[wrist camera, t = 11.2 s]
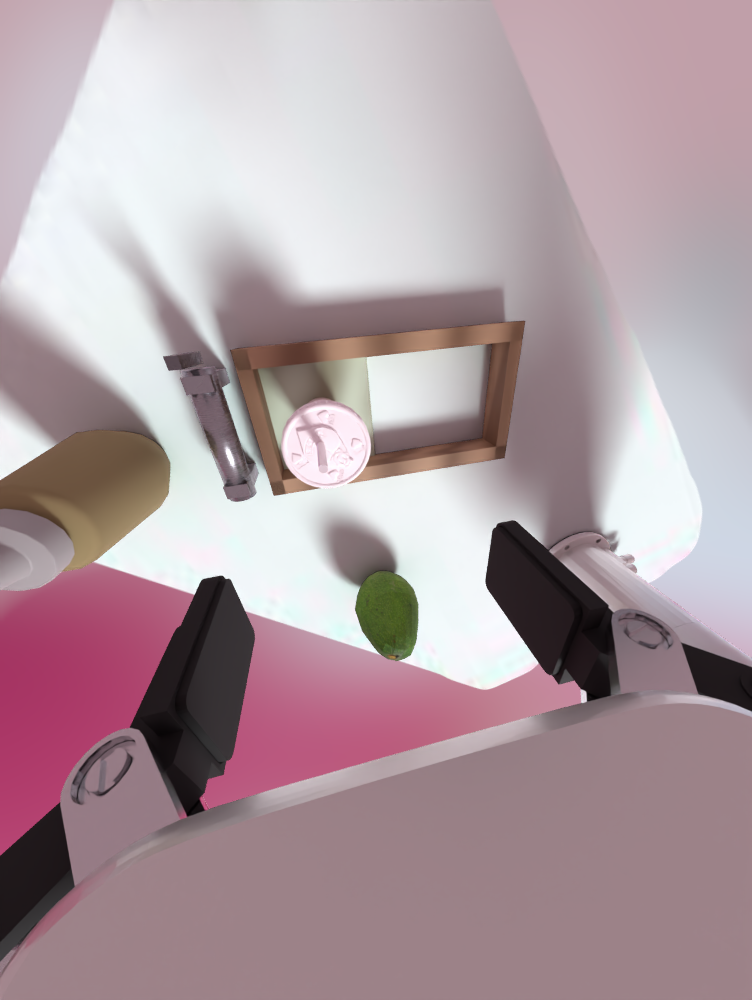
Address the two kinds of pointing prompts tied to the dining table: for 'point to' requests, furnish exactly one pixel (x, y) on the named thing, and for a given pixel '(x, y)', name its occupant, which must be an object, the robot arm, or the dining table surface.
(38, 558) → the squeeze bottle
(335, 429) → the smoothie
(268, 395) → the bay
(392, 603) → the avocado
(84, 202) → the dining table surface
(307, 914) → the robot arm
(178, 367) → the grey metal handle
